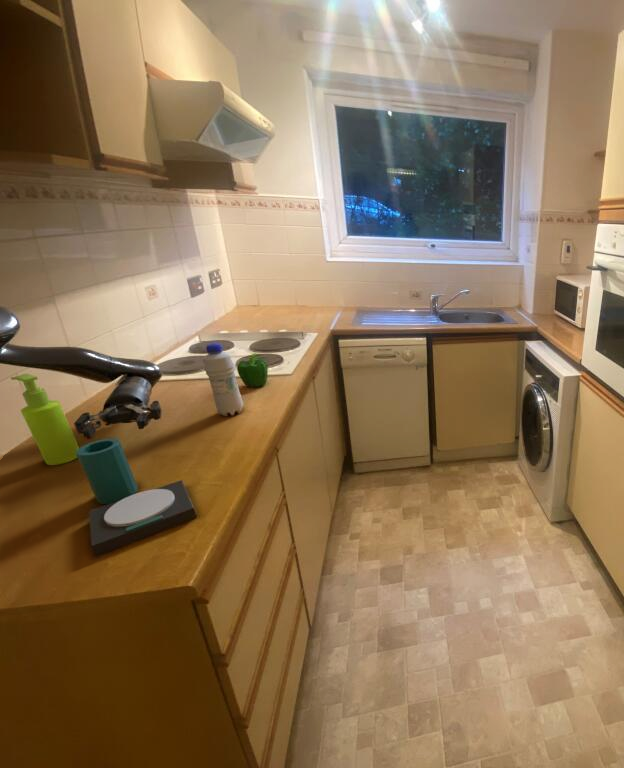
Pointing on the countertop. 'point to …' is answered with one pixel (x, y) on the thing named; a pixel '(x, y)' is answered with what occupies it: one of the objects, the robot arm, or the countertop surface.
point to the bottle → (222, 380)
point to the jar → (107, 470)
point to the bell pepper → (253, 371)
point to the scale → (139, 516)
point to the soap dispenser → (47, 424)
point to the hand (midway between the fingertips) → (114, 430)
